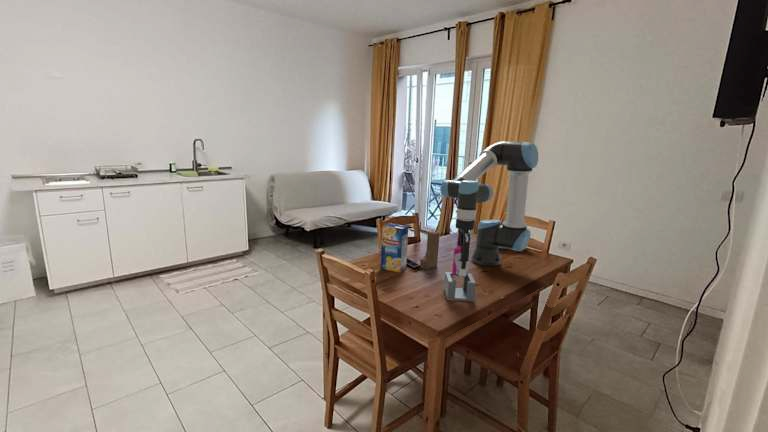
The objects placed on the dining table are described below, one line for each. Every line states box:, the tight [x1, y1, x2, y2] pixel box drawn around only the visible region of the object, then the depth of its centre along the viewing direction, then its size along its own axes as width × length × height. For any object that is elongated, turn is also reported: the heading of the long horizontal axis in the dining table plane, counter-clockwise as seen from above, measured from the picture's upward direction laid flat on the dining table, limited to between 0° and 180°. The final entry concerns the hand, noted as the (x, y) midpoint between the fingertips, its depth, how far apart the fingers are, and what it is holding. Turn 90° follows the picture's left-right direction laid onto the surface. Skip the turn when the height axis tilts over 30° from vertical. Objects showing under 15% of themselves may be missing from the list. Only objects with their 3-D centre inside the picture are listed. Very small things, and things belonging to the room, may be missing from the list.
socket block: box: [443, 271, 477, 302], centre depth 155 cm, size 11×11×8 cm
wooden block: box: [419, 230, 441, 271], centre depth 187 cm, size 9×4×18 cm, turn 135°
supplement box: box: [451, 245, 472, 278], centre depth 153 cm, size 6×6×12 cm
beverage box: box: [380, 222, 409, 273], centre depth 182 cm, size 7×11×22 cm, turn 62°
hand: (460, 272), depth 154 cm, fingers closed on supplement box, 7 cm apart
